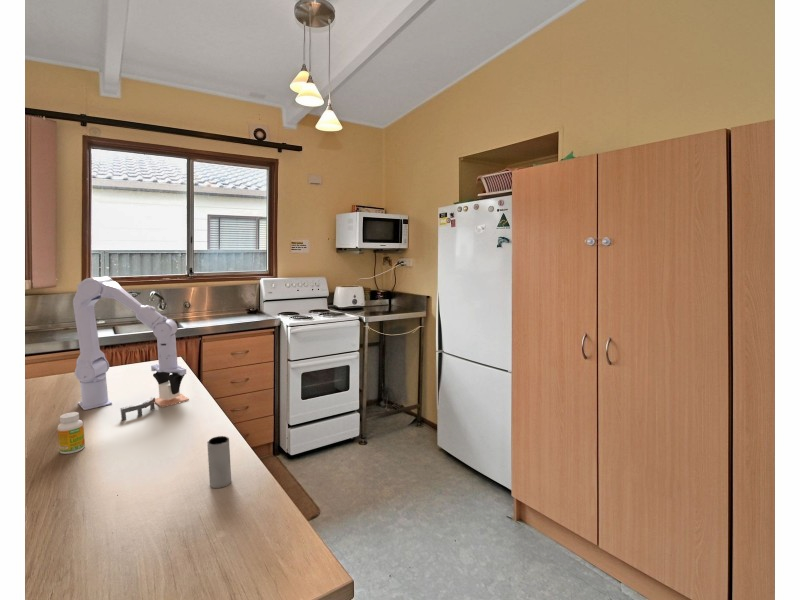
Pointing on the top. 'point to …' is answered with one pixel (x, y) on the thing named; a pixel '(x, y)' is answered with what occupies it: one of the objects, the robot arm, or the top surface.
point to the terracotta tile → (168, 402)
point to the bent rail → (137, 408)
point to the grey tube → (219, 461)
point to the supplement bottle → (70, 433)
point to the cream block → (167, 391)
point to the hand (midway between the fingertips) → (170, 392)
